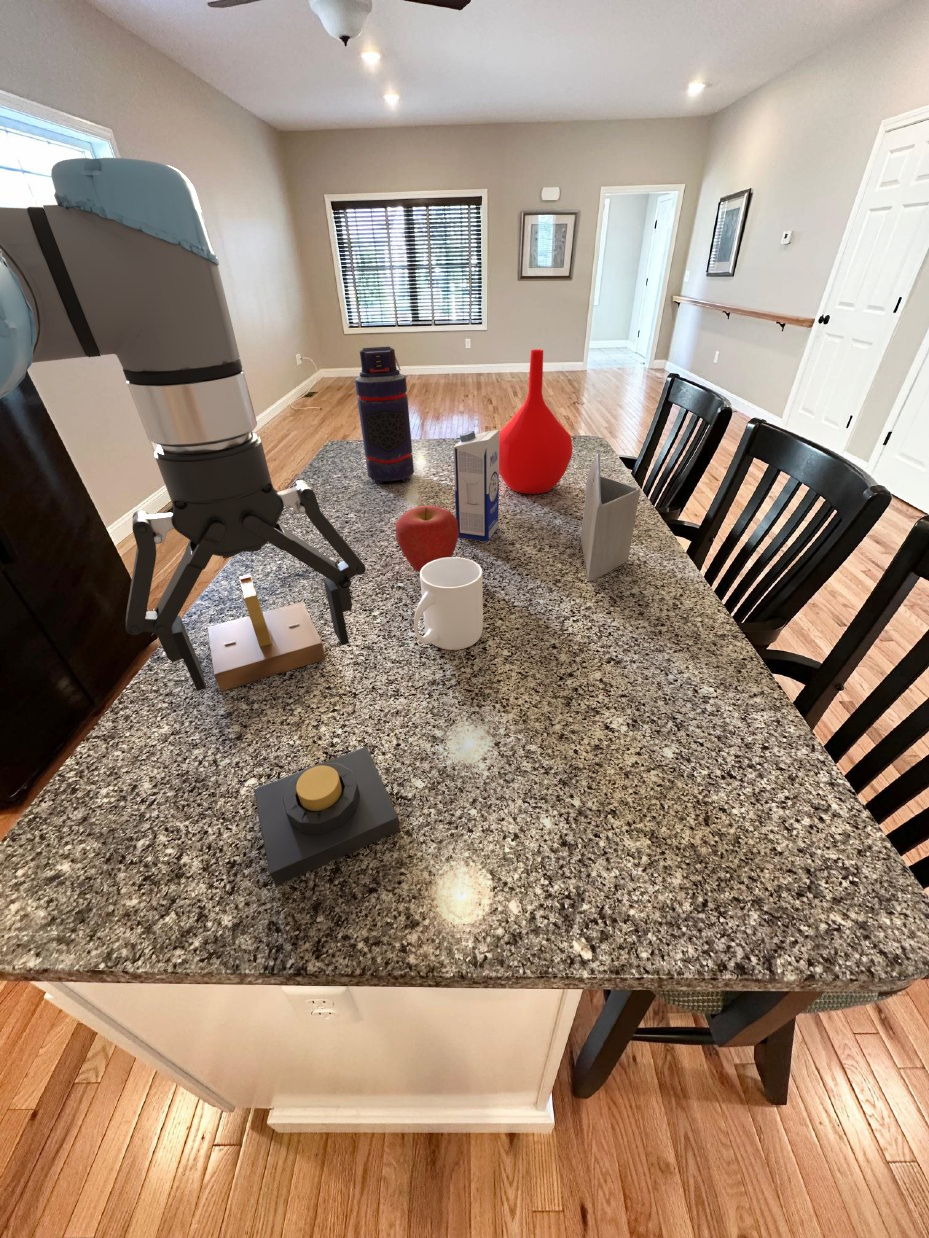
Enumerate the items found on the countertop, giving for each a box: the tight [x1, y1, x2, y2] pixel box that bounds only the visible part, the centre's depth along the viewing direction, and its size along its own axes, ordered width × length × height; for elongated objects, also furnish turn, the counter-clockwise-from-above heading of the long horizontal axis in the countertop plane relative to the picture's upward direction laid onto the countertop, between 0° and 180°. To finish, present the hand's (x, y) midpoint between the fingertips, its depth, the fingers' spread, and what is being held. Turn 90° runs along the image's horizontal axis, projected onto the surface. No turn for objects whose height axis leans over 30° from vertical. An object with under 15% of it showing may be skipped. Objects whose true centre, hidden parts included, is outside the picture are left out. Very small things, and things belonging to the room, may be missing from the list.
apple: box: [394, 505, 459, 573], centre depth 89 cm, size 11×11×12 cm
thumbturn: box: [238, 573, 271, 647], centre depth 70 cm, size 6×2×8 cm, turn 26°
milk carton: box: [452, 429, 500, 542], centre depth 99 cm, size 7×7×20 cm
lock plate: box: [206, 601, 326, 692], centre depth 74 cm, size 14×12×3 cm
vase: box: [499, 348, 573, 495], centre depth 117 cm, size 18×18×30 cm
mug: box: [413, 556, 484, 651], centre depth 72 cm, size 9×12×11 cm
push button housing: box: [253, 746, 401, 887], centre depth 51 cm, size 12×10×4 cm
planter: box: [579, 452, 641, 582], centre depth 89 cm, size 16×8×19 cm, turn 174°
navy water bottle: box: [354, 346, 415, 485], centre depth 126 cm, size 14×12×30 cm
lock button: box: [296, 766, 342, 811], centre depth 49 cm, size 4×4×2 cm
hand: (274, 658), depth 50 cm, fingers open, 13 cm apart
